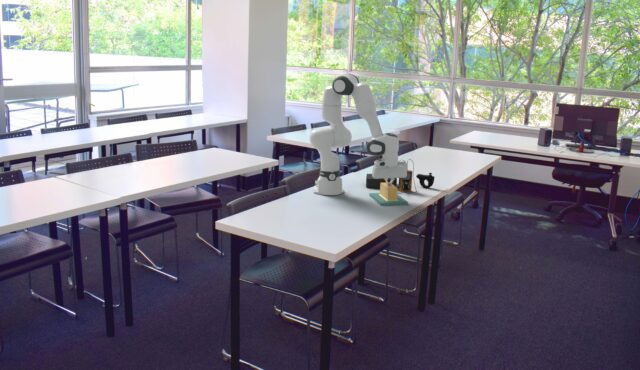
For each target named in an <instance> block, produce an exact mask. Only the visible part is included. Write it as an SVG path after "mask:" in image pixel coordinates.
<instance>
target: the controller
mask: <svg viewBox="0 0 640 370" xmlns="http://www.w3.org/2000/svg"><path fill="white" fill-rule="evenodd" d="M416 178H417V179H418V181H419V185H420V186H421V187H422V188H424V189H429V188H431V187H432V186H433V185H434V183H435V176H433V172H429V173H428V174H421V173H417V174H416ZM425 181H426V182H427V184H426V183H425Z"/></svg>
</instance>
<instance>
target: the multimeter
mask: <svg viewBox="0 0 640 370" xmlns="http://www.w3.org/2000/svg"><path fill="white" fill-rule="evenodd" d="M403 161H404V162H405V160H404V159H402V162H403ZM409 161H411V162H412V164H413V165H412V166H413V168H412V170H411V169H408V166H409V165H408V164H409ZM398 162H401V159H400V160H399V159H398ZM406 163H407V176H406V177H405V178H398V187H399V188H398V191H399V192H398V195H399V194H400V195H405V192H407V193H406V195H408V194H409V193H417V188H416V186H414V189H415V191H413V192H412V188H413V185H412V184H414V185H416V184H415V181H413V180H415V178H414V175H413V173H415V171H414V170H415V163H414V161H413V160H412V159H411V158H410V159H408V160H407V162H406ZM403 192H404V193H403Z"/></svg>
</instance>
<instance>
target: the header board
mask: <svg viewBox="0 0 640 370" xmlns="http://www.w3.org/2000/svg"><path fill="white" fill-rule="evenodd" d="M368 194H369V197H370V198H372V200H374V201H375V202H376V203H377V204H379V205H380V207H381V206H404V205H406V206H407V205H409V201H408V200H407V199H405V198H403V197H402V196H401V195H399V193H397V200H386V199H385V198H384V197H383V196H381V195H380V192H369V193H368Z"/></svg>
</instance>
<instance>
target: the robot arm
mask: <svg viewBox="0 0 640 370" xmlns="http://www.w3.org/2000/svg"><path fill="white" fill-rule="evenodd" d="M344 96H351V97H352V100H353V101H354V106H355V109H356V110H355V111H356V113H357V114H358V116H359V117H360V118H361V119H363V120H364V121H366V122H367V125H368V127H369V131H370V135H371V139H369V141H368V142H367V143H366V147H365V148H366V149H365V150H366V151H367V153H368V154H369V155H371V156H380V155H383V158H381V159H380V158H379V159H375V160H374V161H373V163H374V165H373V167H372V169H371V170H372V171H371V174H372V177H373V178H375V179H378V178H385V181H386V185H387V186H392V182H393V181H394V178H397V179H399V178H405V177H406V176H407V162H406V161H405V160H404V161H403V160H402V161H399V153H398V152H399V147H400V141H399V136H398V135H396V134H394V133H391V132H386V133H384V134H383V132H382V131H383V130H382V128H381V124H380V122H379V118H378V117H379V116H378V113H377V107H376V101H375V98H374V95H373V92H372V90H371V87H370V86H369V84H368V83H366V82H360V81H359V77H357V75H355V74H352V73H346V74H342V75H339V76H337V77H335V78H334V80H333V82H332V85H328V86H326V87H324V89H323V95H322V105H321V106H322V107H321V112H322V113H321V116H322V119H323V120H324V121H325V122H326V123H328V124H329V126H330V127H329V128H318V129H314V130H312V131H311V133H310V135H309V143H310V144H311V145H312V146H313V147H314V148H315V149H316V150H317V151H318V154H319V157H320V169H319V177H318V178H317V180H315V181H314V186H313V193H314V194H317V195H318V194H319V195H323V196H337V195H340V194H344V193H345V191H346V190H344V189H343V180H342V177H340V175H341V170H340V157H339V155H338V154H337V153H335V152H333V151H332V148H335V147H336V148H337V147H338V148H339V147H346V146H349V145H350V143H351V142H352V138H353V137H352V133H351V130H350V129H348V128H347V127H346V125H345V124H344V122H343V119H342V101H343V100H342V98H343V97H344ZM398 161H399V162H398ZM388 178H391V181H390V182H388V181H387V180H388Z"/></svg>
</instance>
